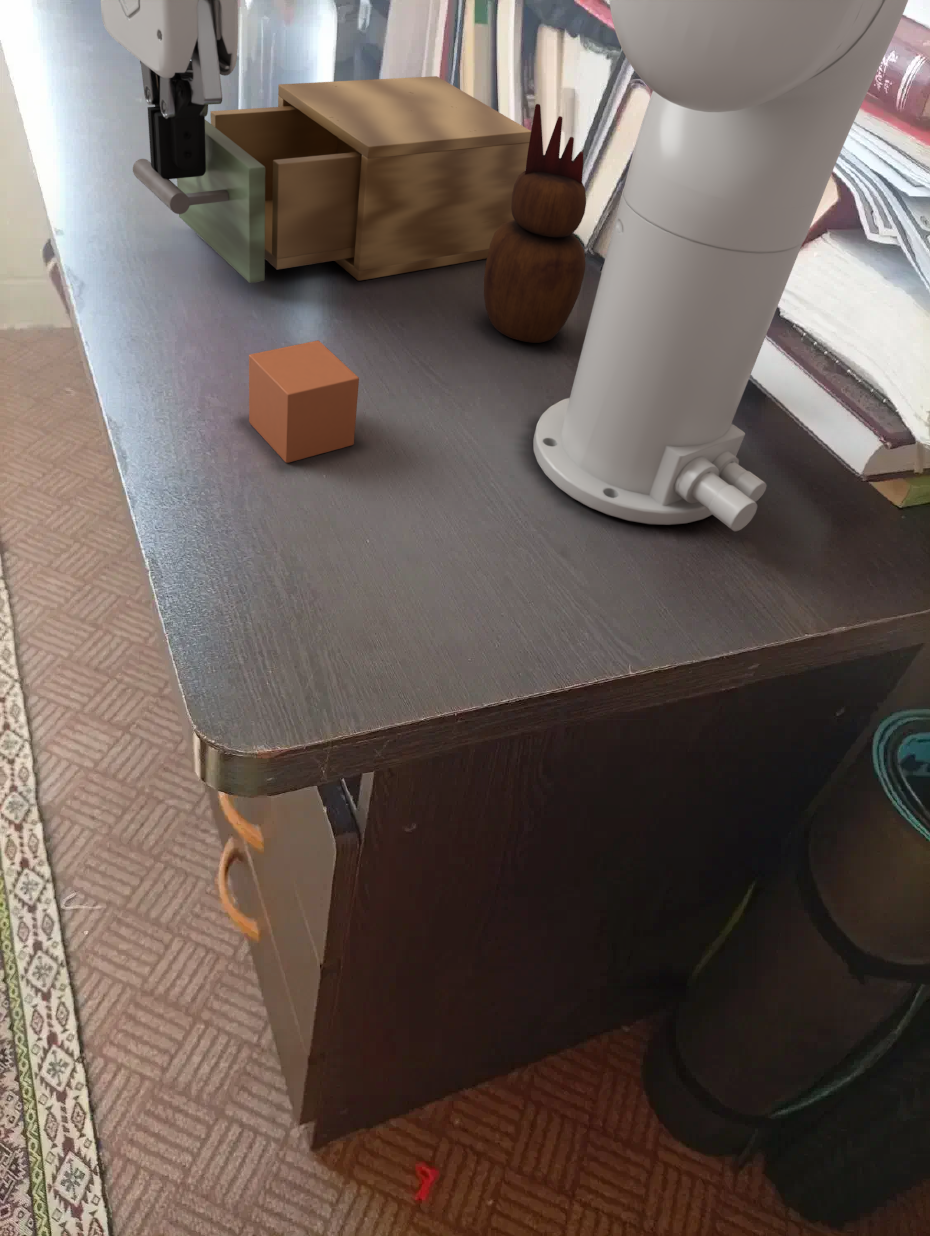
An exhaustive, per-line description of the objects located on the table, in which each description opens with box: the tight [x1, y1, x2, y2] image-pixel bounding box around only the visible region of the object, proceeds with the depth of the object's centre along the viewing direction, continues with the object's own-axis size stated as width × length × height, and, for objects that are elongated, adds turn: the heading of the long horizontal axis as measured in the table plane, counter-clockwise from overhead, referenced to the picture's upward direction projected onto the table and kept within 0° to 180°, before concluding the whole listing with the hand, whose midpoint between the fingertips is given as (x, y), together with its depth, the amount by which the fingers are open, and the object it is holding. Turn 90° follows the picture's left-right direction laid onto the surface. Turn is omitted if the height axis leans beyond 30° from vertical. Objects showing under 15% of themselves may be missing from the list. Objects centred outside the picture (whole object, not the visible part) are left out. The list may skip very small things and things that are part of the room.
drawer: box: [132, 106, 362, 284], centre depth 70 cm, size 18×11×8 cm, turn 126°
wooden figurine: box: [483, 103, 587, 344], centre depth 65 cm, size 7×6×15 cm
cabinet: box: [277, 75, 531, 281], centre depth 76 cm, size 15×13×10 cm
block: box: [248, 340, 360, 464], centre depth 56 cm, size 4×4×4 cm
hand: (178, 172), depth 66 cm, fingers closed
